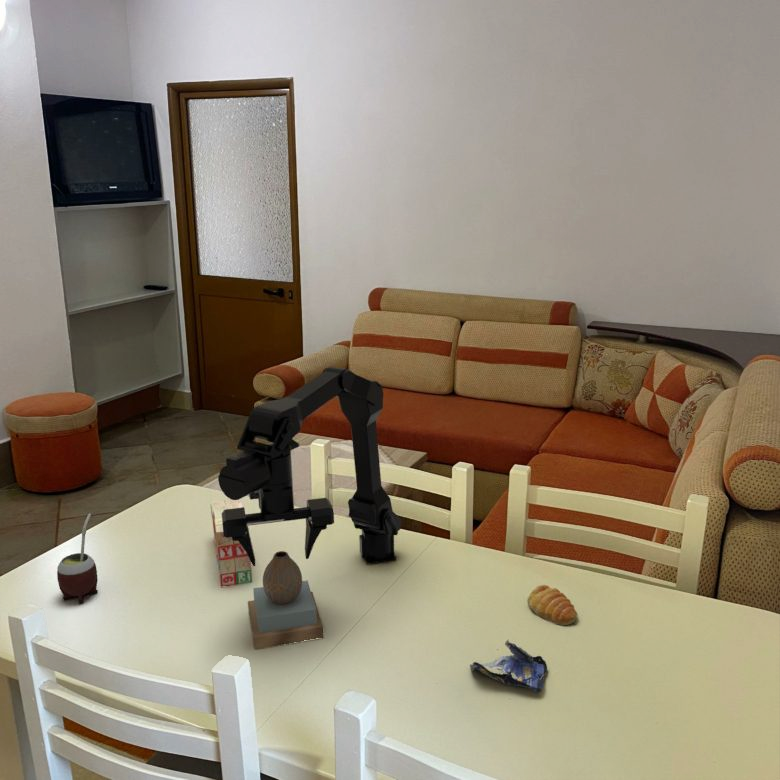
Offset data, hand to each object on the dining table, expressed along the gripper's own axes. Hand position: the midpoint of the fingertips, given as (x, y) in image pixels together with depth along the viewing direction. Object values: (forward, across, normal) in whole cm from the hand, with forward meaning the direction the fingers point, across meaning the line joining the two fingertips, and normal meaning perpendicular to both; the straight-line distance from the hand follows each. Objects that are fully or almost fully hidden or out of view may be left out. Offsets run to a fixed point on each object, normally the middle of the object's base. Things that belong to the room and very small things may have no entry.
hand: (280, 561), depth 134 cm
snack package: (+13, -34, +24) cm, 43 cm away
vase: (+8, 0, 0) cm, 8 cm away
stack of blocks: (+13, +8, -27) cm, 31 cm away
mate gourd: (+13, +37, -21) cm, 44 cm away
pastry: (+13, -48, +9) cm, 50 cm away
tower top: (+10, 0, 0) cm, 11 cm away
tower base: (+14, 0, 0) cm, 14 cm away
